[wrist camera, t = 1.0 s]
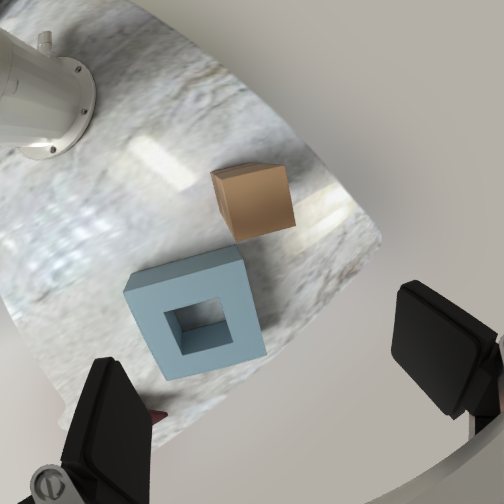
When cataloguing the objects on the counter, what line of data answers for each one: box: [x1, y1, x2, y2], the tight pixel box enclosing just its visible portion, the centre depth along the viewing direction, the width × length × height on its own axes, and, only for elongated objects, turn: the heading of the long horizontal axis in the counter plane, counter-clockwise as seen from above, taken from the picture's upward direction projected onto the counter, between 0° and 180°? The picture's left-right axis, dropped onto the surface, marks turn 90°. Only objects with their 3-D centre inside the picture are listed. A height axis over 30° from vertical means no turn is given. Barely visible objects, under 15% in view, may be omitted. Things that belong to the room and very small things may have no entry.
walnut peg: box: [211, 163, 296, 242], centre depth 26 cm, size 5×5×12 cm
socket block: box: [123, 245, 267, 381], centre depth 33 cm, size 13×13×5 cm
